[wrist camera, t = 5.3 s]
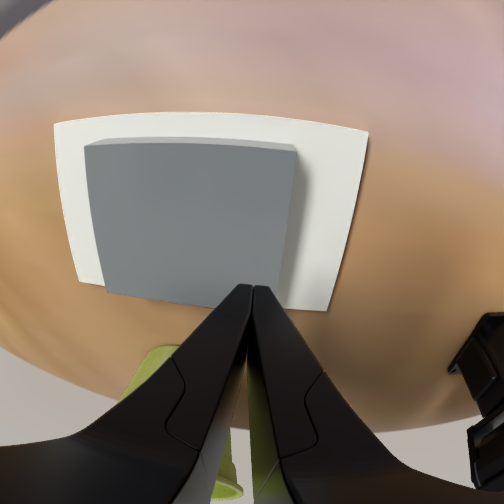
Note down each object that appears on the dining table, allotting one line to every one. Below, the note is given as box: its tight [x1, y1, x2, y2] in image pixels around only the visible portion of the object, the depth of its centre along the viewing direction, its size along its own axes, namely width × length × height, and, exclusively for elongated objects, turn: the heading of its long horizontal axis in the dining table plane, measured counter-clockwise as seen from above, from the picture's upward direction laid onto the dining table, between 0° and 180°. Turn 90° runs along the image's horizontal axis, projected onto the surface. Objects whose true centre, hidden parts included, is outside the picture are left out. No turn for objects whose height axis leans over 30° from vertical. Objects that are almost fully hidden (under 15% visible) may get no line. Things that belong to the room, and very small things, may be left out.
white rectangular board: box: [54, 112, 369, 311], centre depth 12 cm, size 14×9×1 cm, turn 85°
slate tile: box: [84, 137, 297, 308], centre depth 11 cm, size 2×7×8 cm
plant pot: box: [117, 345, 243, 500], centre depth 15 cm, size 9×9×9 cm
